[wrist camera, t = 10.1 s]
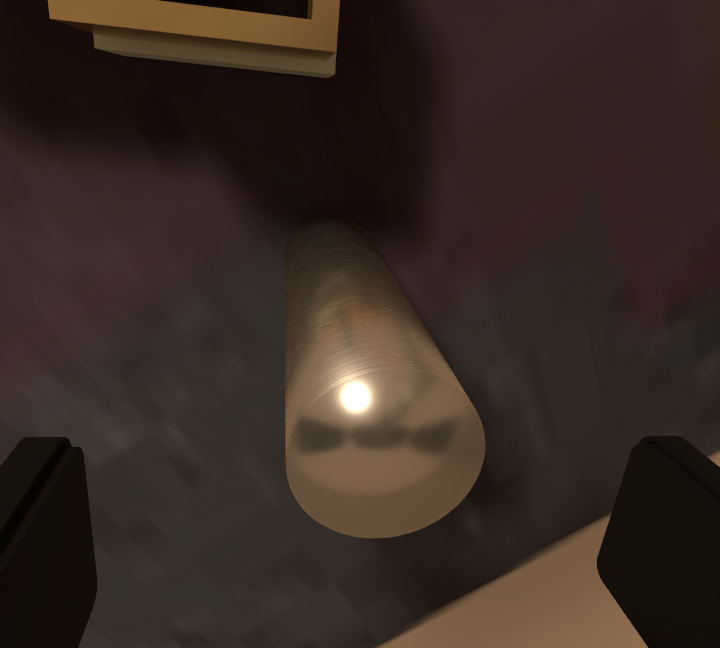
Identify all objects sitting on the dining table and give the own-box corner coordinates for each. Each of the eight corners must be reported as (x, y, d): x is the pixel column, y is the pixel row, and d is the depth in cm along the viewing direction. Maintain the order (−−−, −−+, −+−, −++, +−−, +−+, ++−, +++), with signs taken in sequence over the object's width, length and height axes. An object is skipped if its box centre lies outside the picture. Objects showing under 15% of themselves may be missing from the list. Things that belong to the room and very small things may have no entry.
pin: (379, 218, 21) (502, 372, 9) (370, 304, 22) (467, 535, 11) (286, 212, 20) (290, 368, 9) (283, 300, 22) (281, 541, 10)
